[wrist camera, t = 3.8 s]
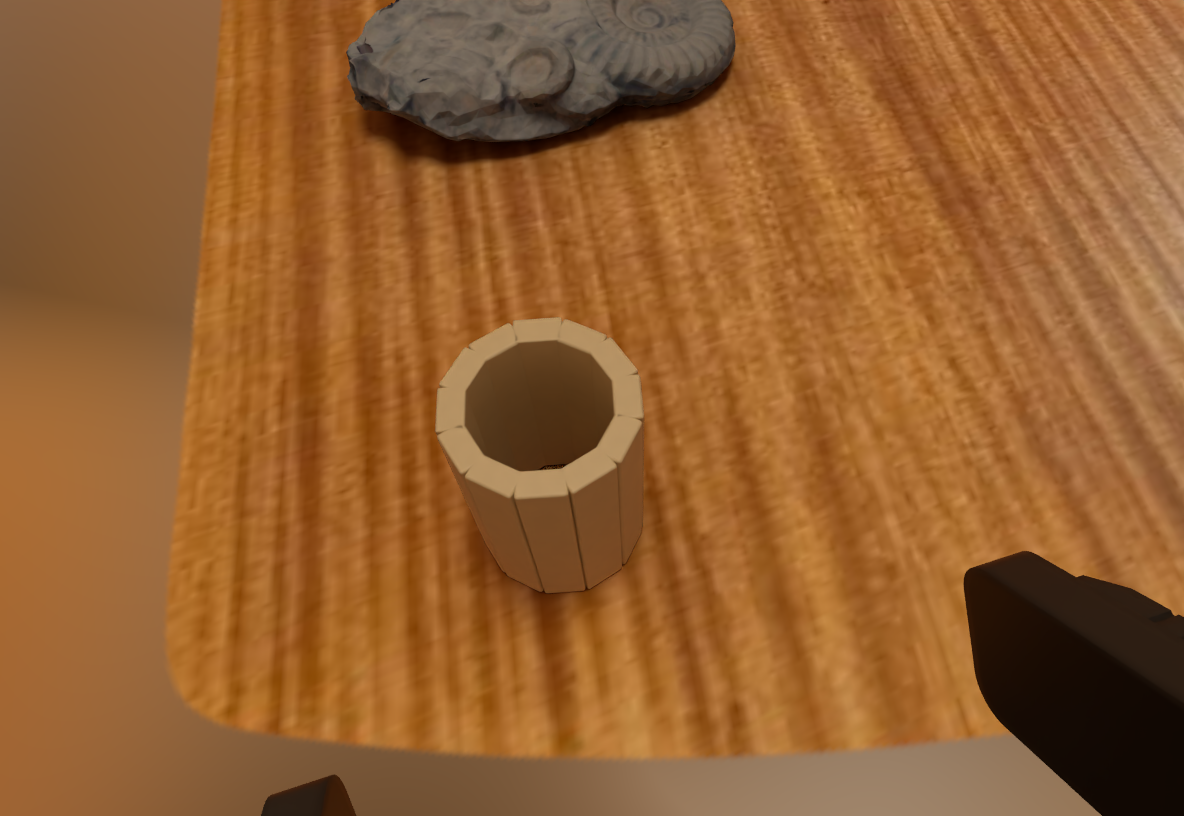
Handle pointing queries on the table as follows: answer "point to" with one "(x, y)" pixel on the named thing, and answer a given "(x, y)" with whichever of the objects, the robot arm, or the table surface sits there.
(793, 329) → the table surface
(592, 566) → the faceted pencil cup
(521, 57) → the fossil
